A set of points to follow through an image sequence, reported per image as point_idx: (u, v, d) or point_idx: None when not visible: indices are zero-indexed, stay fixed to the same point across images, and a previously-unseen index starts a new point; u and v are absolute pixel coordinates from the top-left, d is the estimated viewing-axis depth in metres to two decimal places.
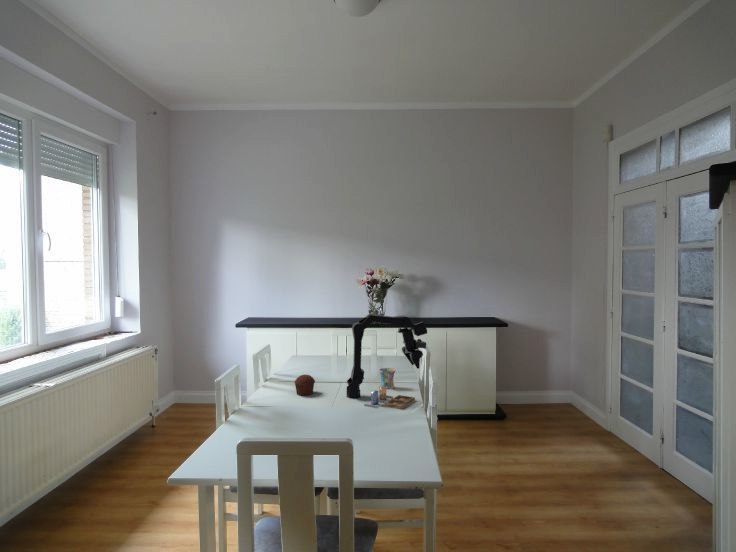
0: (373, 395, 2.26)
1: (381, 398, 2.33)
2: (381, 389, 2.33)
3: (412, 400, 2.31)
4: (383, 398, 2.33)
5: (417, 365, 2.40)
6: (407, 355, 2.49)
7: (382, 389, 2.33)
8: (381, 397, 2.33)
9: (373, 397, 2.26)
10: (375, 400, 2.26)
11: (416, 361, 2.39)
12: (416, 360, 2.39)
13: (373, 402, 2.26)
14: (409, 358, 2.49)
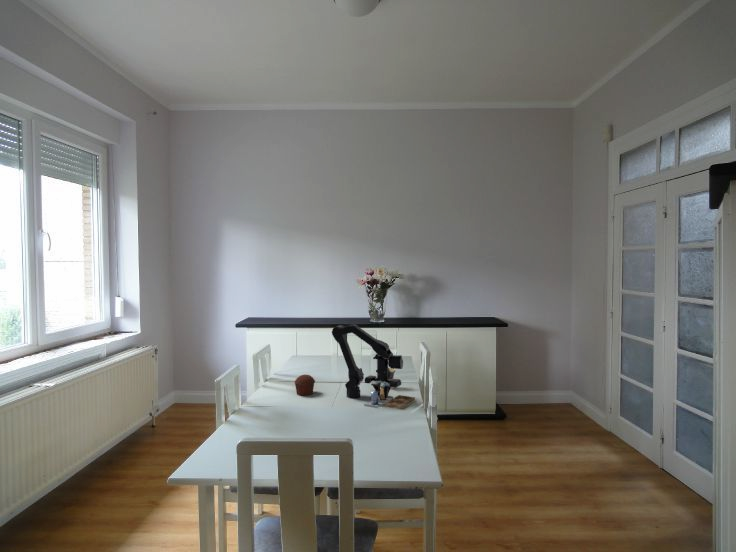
0: (373, 395, 2.26)
1: (381, 398, 2.33)
2: (381, 389, 2.33)
3: (412, 400, 2.31)
4: (383, 398, 2.33)
5: (387, 394, 2.33)
6: (377, 386, 2.34)
7: (382, 389, 2.33)
8: (381, 397, 2.33)
9: (373, 397, 2.26)
10: (375, 400, 2.26)
11: (387, 390, 2.33)
12: (388, 389, 2.33)
13: (373, 402, 2.26)
14: (378, 390, 2.35)
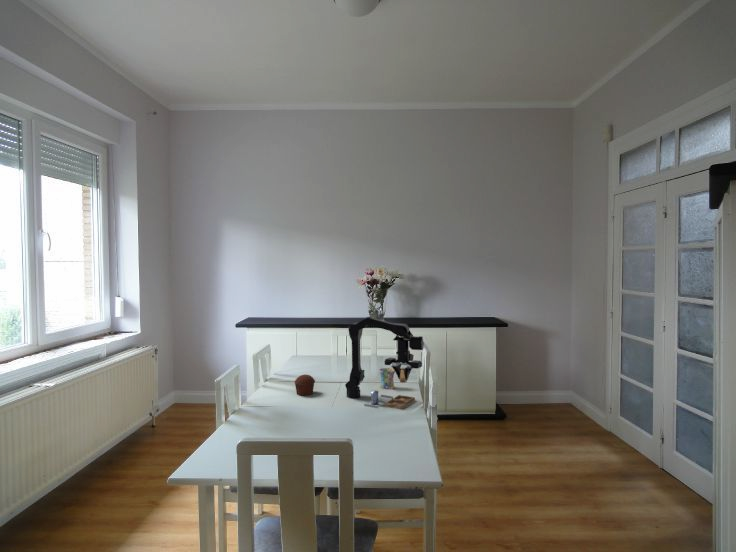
0: (373, 395, 2.26)
1: (401, 380, 2.30)
2: (401, 371, 2.30)
3: (412, 400, 2.31)
4: (404, 380, 2.30)
5: (407, 376, 2.30)
6: (397, 368, 2.31)
7: (402, 371, 2.29)
8: (401, 379, 2.30)
9: (373, 397, 2.26)
10: (375, 400, 2.26)
11: (408, 372, 2.29)
12: (408, 371, 2.29)
13: (373, 402, 2.26)
14: (398, 372, 2.31)
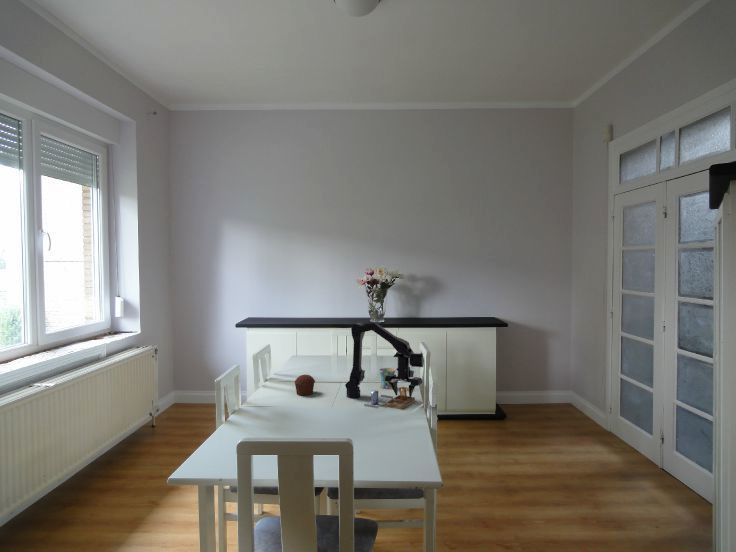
0: (373, 395, 2.26)
1: (402, 399, 2.30)
2: (401, 389, 2.30)
3: (412, 400, 2.31)
4: (404, 399, 2.30)
5: (411, 394, 2.29)
6: (394, 384, 2.32)
7: (402, 390, 2.30)
8: (402, 398, 2.30)
9: (373, 397, 2.26)
10: (375, 400, 2.26)
11: (412, 389, 2.29)
12: (412, 388, 2.29)
13: (373, 402, 2.26)
14: (395, 388, 2.33)
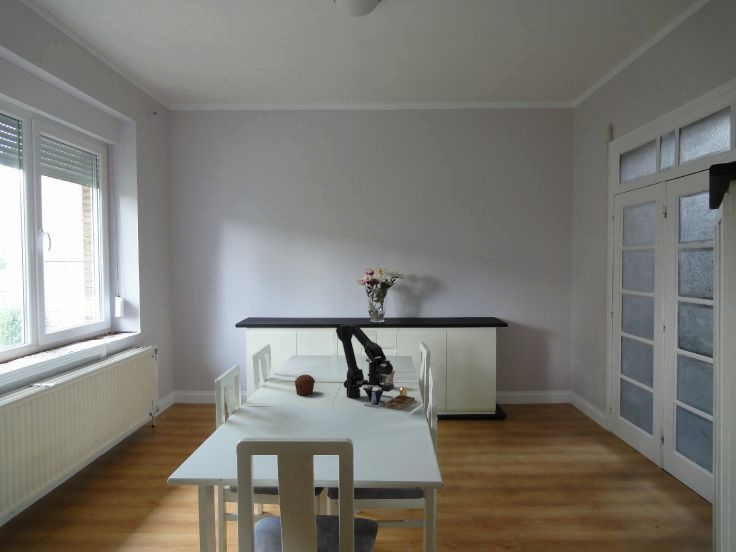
0: (373, 395, 2.26)
1: (402, 399, 2.30)
2: (402, 390, 2.30)
3: (412, 400, 2.31)
4: (404, 399, 2.30)
5: (379, 399, 2.26)
6: (369, 391, 2.27)
7: (403, 390, 2.30)
8: (402, 398, 2.30)
9: (373, 397, 2.26)
10: (375, 400, 2.26)
11: (380, 394, 2.25)
12: (380, 393, 2.26)
13: (373, 402, 2.26)
14: (370, 394, 2.27)
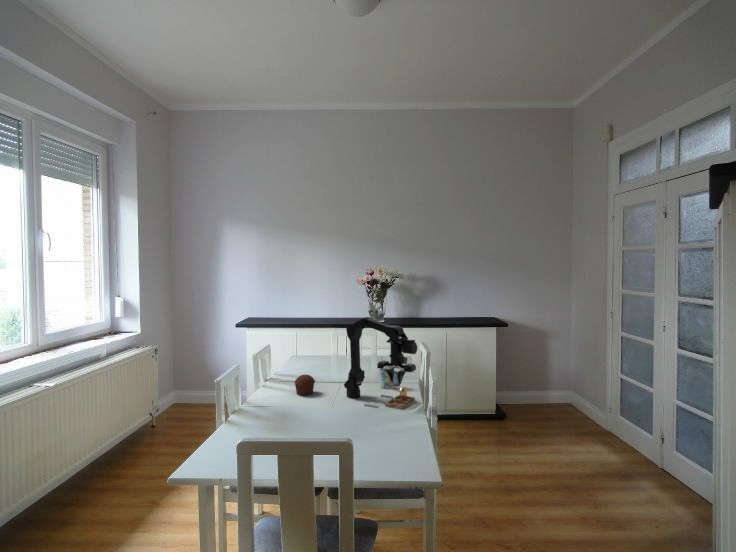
0: (395, 376, 2.23)
1: (402, 399, 2.30)
2: (402, 390, 2.30)
3: (412, 400, 2.31)
4: (404, 399, 2.30)
5: (401, 380, 2.23)
6: (390, 372, 2.24)
7: (403, 390, 2.30)
8: (402, 398, 2.30)
9: (395, 378, 2.23)
10: (397, 381, 2.23)
11: (401, 375, 2.23)
12: (402, 374, 2.23)
13: (395, 383, 2.23)
14: (391, 375, 2.25)
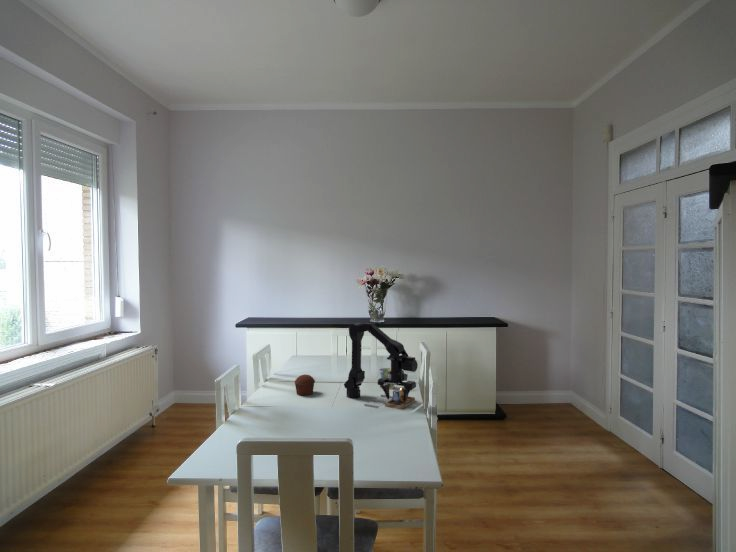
0: (395, 395, 2.23)
1: (402, 399, 2.30)
2: (402, 390, 2.30)
3: (412, 400, 2.31)
4: None
5: (406, 398, 2.22)
6: (386, 388, 2.26)
7: (403, 390, 2.30)
8: (402, 398, 2.30)
9: (395, 397, 2.23)
10: (397, 400, 2.23)
11: (407, 393, 2.22)
12: (407, 392, 2.22)
13: (395, 402, 2.24)
14: (387, 391, 2.26)
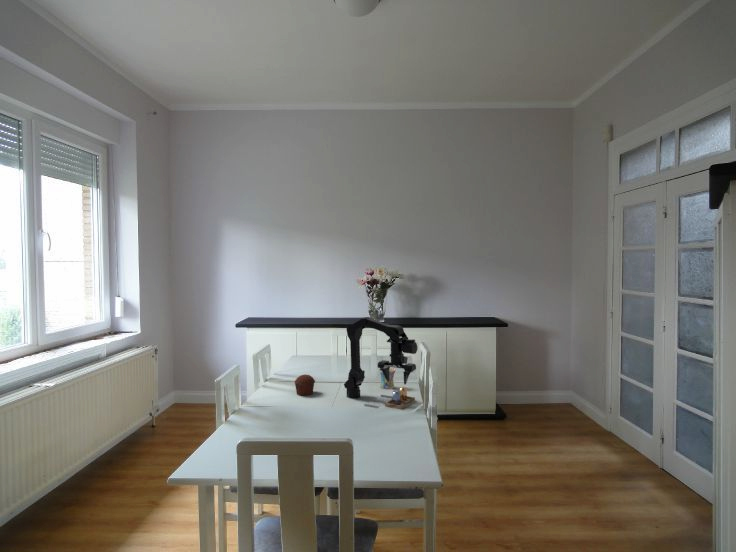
0: (395, 395, 2.23)
1: (402, 399, 2.30)
2: (402, 390, 2.30)
3: (412, 400, 2.31)
4: (404, 399, 2.30)
5: (406, 380, 2.22)
6: (386, 371, 2.26)
7: (403, 390, 2.30)
8: (402, 398, 2.30)
9: (395, 397, 2.23)
10: (397, 400, 2.23)
11: (407, 376, 2.21)
12: (407, 375, 2.22)
13: (395, 402, 2.24)
14: (387, 374, 2.26)
